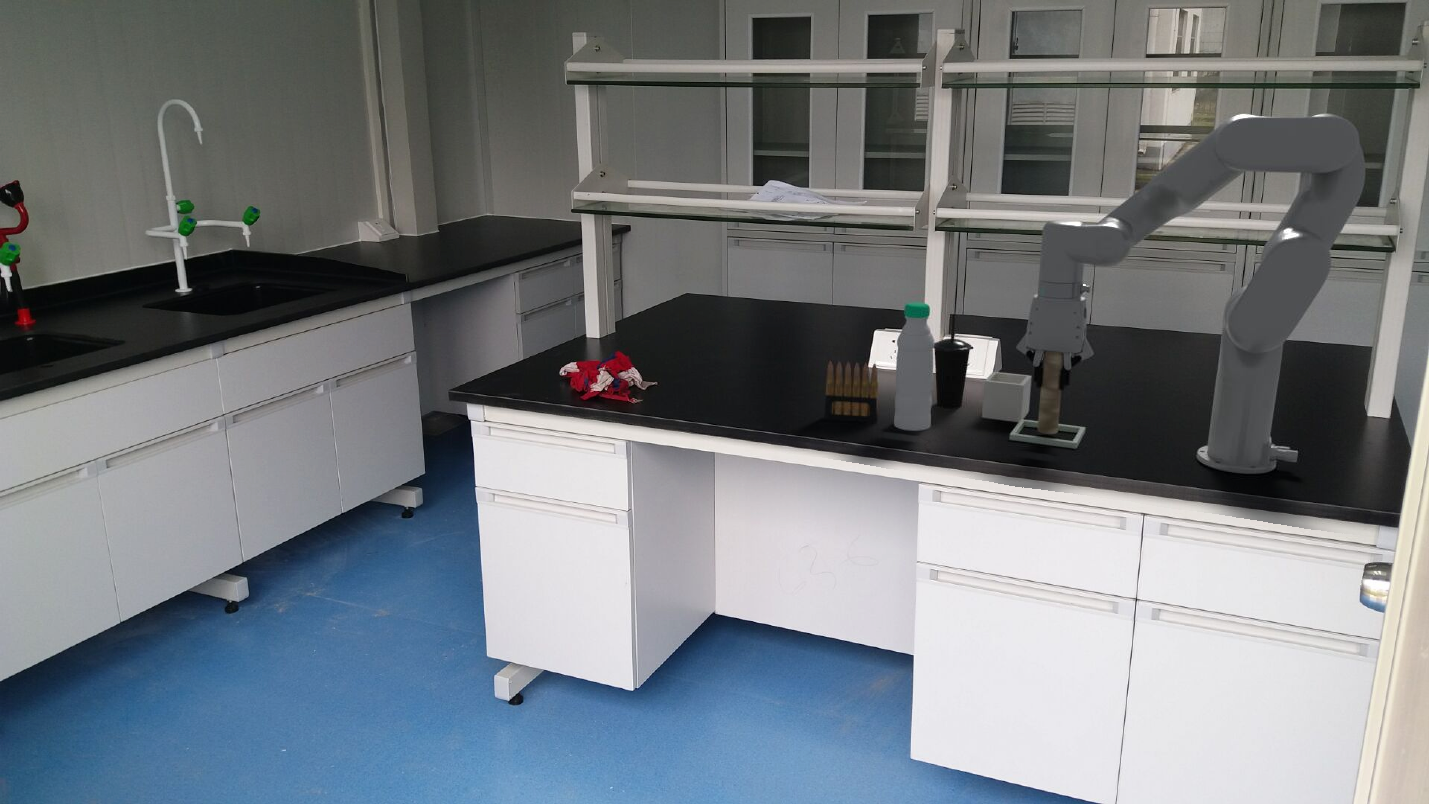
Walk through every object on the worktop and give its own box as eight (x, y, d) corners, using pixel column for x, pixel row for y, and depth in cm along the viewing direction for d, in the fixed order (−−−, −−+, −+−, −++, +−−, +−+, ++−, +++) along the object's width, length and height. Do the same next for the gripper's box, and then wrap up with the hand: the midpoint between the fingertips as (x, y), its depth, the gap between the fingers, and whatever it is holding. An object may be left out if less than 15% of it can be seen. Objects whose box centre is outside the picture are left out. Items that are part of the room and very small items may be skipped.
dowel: (1059, 429, 198) (1067, 336, 193) (1055, 435, 195) (1063, 340, 190) (1039, 426, 200) (1047, 334, 195) (1035, 432, 197) (1043, 339, 192)
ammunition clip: (878, 420, 212) (879, 362, 208) (877, 422, 210) (878, 364, 207) (825, 416, 215) (826, 359, 211) (824, 419, 213) (824, 362, 209)
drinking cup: (926, 404, 221) (930, 311, 216) (961, 402, 222) (966, 310, 216) (935, 415, 214) (940, 319, 208) (972, 413, 215) (978, 318, 209)
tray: (1084, 437, 200) (1085, 427, 199) (1075, 453, 191) (1076, 443, 191) (1020, 428, 205) (1021, 419, 204) (1009, 444, 197) (1009, 434, 196)
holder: (1028, 416, 213) (1031, 375, 210) (1020, 427, 206) (1023, 385, 204) (990, 411, 216) (993, 371, 213) (981, 422, 209) (984, 381, 207)
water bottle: (897, 422, 210) (902, 299, 203) (933, 425, 208) (939, 301, 200) (890, 433, 204) (894, 306, 197) (926, 436, 201) (932, 308, 194)
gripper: (1110, 289, 189) (1101, 387, 195) (1017, 282, 196) (1010, 377, 202) (1104, 297, 183) (1095, 398, 188) (1008, 289, 190) (1001, 387, 196)
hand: (1051, 386), depth 195 cm, fingers closed on dowel, 3 cm apart
